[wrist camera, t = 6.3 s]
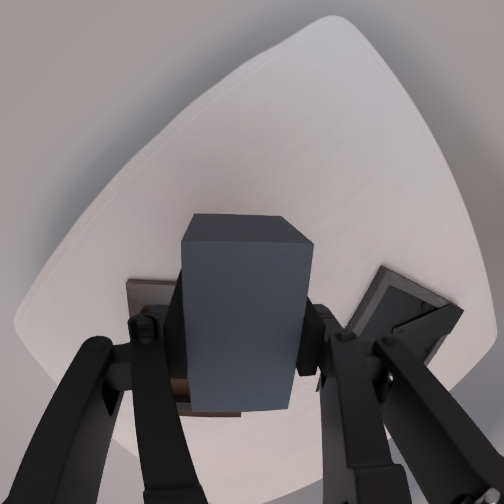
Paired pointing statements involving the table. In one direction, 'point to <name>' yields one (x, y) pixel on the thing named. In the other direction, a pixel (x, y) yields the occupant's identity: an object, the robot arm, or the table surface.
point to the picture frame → (405, 314)
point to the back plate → (141, 301)
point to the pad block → (243, 310)
